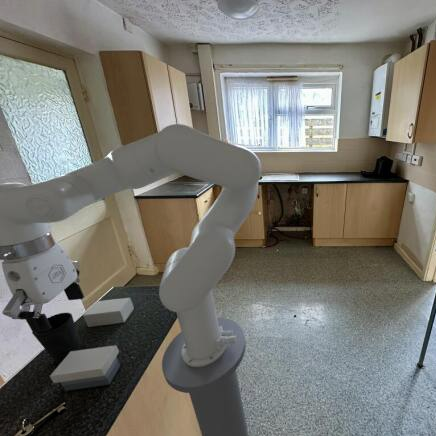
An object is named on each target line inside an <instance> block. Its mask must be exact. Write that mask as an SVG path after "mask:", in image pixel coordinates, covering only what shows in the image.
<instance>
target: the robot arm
mask: <svg viewBox="0 0 436 436" xmlns="http://www.w3.org/2000/svg"><path fill="white" fill-rule="evenodd" d="M261 163H262V162H261V161H260V159H259V157H258V156H257V155H256V154H255V153H254V152H253V151H252V150H250V149H248V148H247V147H244V146H242V145H239V144H238V145H237V144H234V143H231V142H228V141H226V140H223V139H220V138H217V137H214V136H212V135H209V134H207V133H205V132H201V131H200V130H197V129H195V128H194V127H192V126H189V125H187V124H181V123H174V124H170V125H167V126H165V127H164V128H162V129H161V130H159V131H158V132H156V133H152V134H150V135H147V136H146V137H143V138H141V139H137V140H135V141H133V142H130V143H127V144H125V145H123V146H120V147H117V148H115V149H113V150H111V151H110V152H109V153H108V155H106V156H105V157H104V158H101V159H100V160H98V161H97V160H96V161H95V162H92V163H91V164H90V163H89V164H88V165H85V166H84V167H81V168H77V169H76V170H73V171H70V172H68V173H65V174H62V175H59V176H55V177H52V178H49V179H44V180H42V181H39V182H35V183H32V184H26V183H22V182H5V183H0V261H2V262H1V267H2V272H3V275H4V279H5V281H6V284H7V287H8V288H9V291H10V293H11V295H12V296H11V298H10V300H9V301H8V303H7V304H6V305H5V307H4V308H3V310H2V315H4V316H6V317H9V318H11V319H12V320H25V321H26V323H27V325H28V326H29V328H30V330H31V331H32V332H43V331H49V330H50V329H51V328H52V326H51V325H50V323H49V321H48V319H47V318H48V317H47V315H46V314H45V313H42V311H43V306H44V305H45V304H47V303H50V302H51V301H53V300H54V299H55V298H56V297H57V296H59V295H60V294H61V293H62V292H64V293H65V296H66V298H67V300H68V301H77V300H83V299H84V298H85V295H84V293H83V291H82V288H81V286H80V284H79V283H80V282H81V279H80V278H79V276H80V274H81V273H80V272H81V271H80V270H79V269H80V262H79V261H78V260H76V261H75V260H74V261H72V260H71V258H70V257H69V255H68V253H67V252H66V250H65V249H64V247H63V246H62V245H61V243H59V242H58V241H55V239H54V238H53V235H52V232H51V230H50V228H49V226H48V224H50V223H58V222H62V221H64V220H66V219H68V218H70V217H71V216H74V215H75V214H76V213H78V212H79V211H81V210H82V209H84V208H86V207H88V206H89V205H91V204H93V203H96V202H98V201H100V200H102V199H103V200H104V199H105V198H107V197H109V196H112V195H114V194H118V193H119V192H122V191H125V190H139V189H143V188H145V187H147V186H149V185H152V184H154V183H156V182H159V181H162V180H163V179H166V178H167V177H170V176H172V175H175V174H181V175H183V176H187V177H189V178H193V179H195V180H198V181H202V182H206V183H210V184H213V185H217V186H219V187H222V188H221V191H220V192H219V194H218V196H217V197H216V199H215V201H214V202H213V203H212V205H211V206H210V208H209V209H208V210H207V211H206V212H205V214H204V216H203V217H202V218H201V219H200V220H199V221H198V222H197V224H196V225H195V226H194V228H193V230H192V231H191V236H190V241H189V246H188V247H181V248H179V249H177V250H176V251H174V252H172V254H171V255H170V256H169V257H168V260H167V261H166V263H165V267H164V270H163V274H162V277H161V281H160V284H159V288H158V289H159V290H158V296H159V300H160V302H161V304H162V305H163V307H164V308H165V309H167V310H169V311H171V312H173V313H174V312H175V314H176V317H177V321H178V324H179V328H180V332H182V335H183V339H184V342H185V343H184V345H183V348H182V353H181V354H182V358H183V361H184V362H185V364H187V365H188V366H191V367H203V366H206V365H209V364H211V363H213V362H214V361H216V360H217V359H218V358H219V357H220V356H221V355H222V354H223V353H224V351H225V349H226V347H227V344H229V343H230V344H232V343H236V336H231V335H233V330H231V331H226V332H225V331H223V328H222V326H219V324H218V319H217V318H218V315H217V309H216V305H215V298H214V293H213V290H214V288H215V287H216V286H217V284H218V283H219V282H220V281H221V279H222V278H223V277H224V275H225V274H226V272H227V271H228V270H229V268H230V266H231V265H232V263H233V261H234V258H235V255H236V243H235V236H236V234H237V233H238V231H239V229H240V228H241V227H242V225H243V224H244V223H245V221H246V220H247V218H248V217H249V216H250V213H251V212H252V210H253V209H254V206H255V204H256V201H257V198H258V193H259V181H260V179H261V177H262V172H263V171H262V164H261ZM31 306H33V308H32V309H33V310H32V311H31ZM20 307H21V308H20ZM32 332H31V333H32ZM227 336H230V337H227Z"/></svg>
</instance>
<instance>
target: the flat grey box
mask: <svg viewBox="0 0 436 436" xmlns="http://www.w3.org/2000/svg"><path fill="white" fill-rule="evenodd" d="M119 353H120V350H119V348H118V346H117V345H107V346H102V347H101V346H100V347H94V348H87V349H83V350H78V351H71V352H70V353H69V354H68V355H67V356H66V357H65V359H64V360H63V361H62V362H61V363H60V365H58V366H57V367H56V368H55V369H54V371H53V372H52V373H51V374H50V375H49V378H50V379H51V381H52V383H53V384H59V383H60V382H65V381H72V380H79V379H86V378H93V377H99V376H105V374H106V372H107V371H108V369H109V368H110V366H111V364H112V363H113V361H114V360H115V358H116V357H117V356H118V355H119Z"/></svg>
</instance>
